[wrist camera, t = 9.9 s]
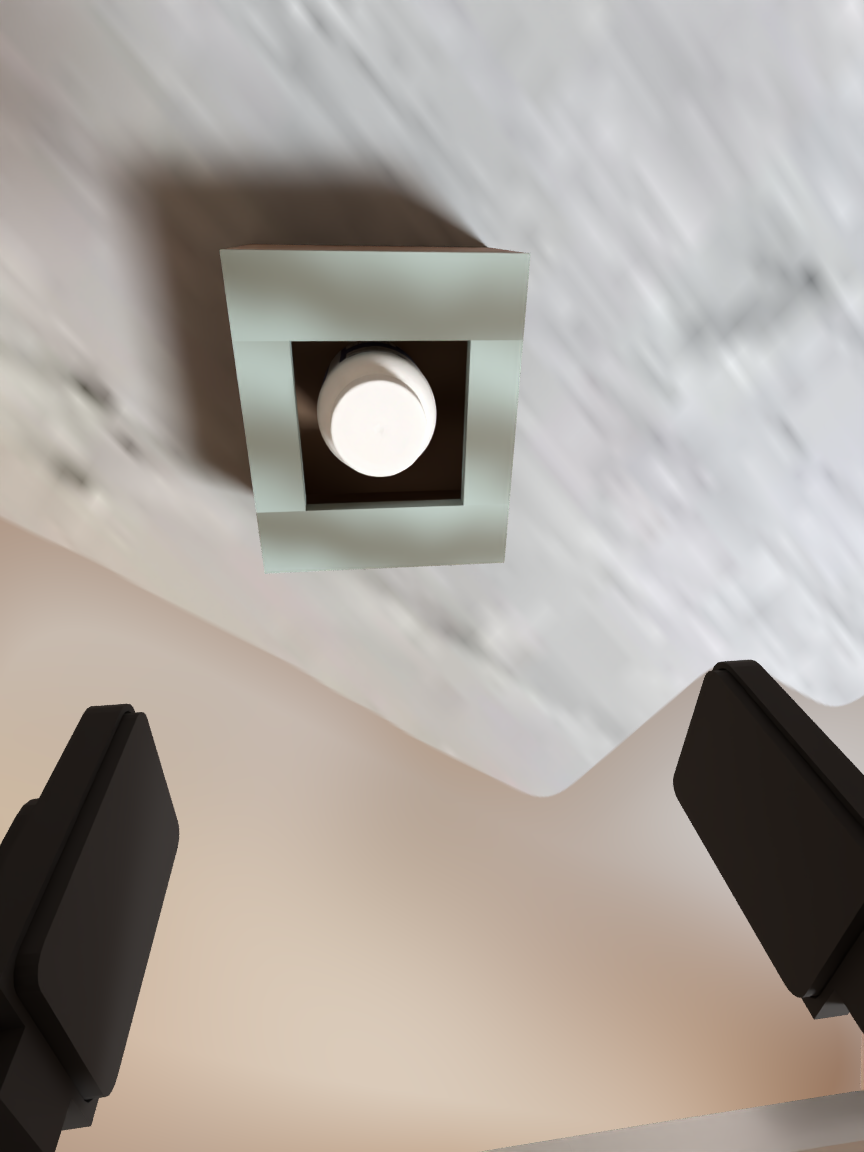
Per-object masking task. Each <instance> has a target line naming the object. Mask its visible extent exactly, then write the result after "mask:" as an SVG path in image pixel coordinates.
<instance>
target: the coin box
mask: <svg viewBox="0 0 864 1152" xmlns="http://www.w3.org/2000/svg"><path fill="white" fill-rule="evenodd" d="M219 251H220V258H221V265H222V272H223V279H224V287H225V294H226V301H227V308H228V315H229V322H230V329H231V336H232V344H233V351H234V358H235V365H236V372H237V379H238V386H239V393H240V401H241V408H242V415H243V422H244V429H245V436H246V443H247V450H248V458H249V465H250V472H251V479H252V486H253V493H254V500H255V507H256V515H257V522H258V529H259V536H260V543H261V550H262V557H263V564H264V572H265V574H267V573H289V572H311V571H332V570H354V569H376V568H397V567H419V566H441V565H462V564H484V563H504V560H505V548H506V536H507V524H508V512H509V501H510V489H511V477H512V465H513V453H514V442H515V430H516V418H517V406H518V395H519V383H520V371H521V359H522V347H523V336H524V324H525V312H526V300H527V288H528V277H529V265H530V254H529V253H522V252H515V251H509V250H502V249H495V248H488V247H419V246H347V245H276V244H248V245H242V246H237V247H231V248H226V249H220V250H219ZM356 341H388V342H391V343H393V344H395V345H397V346H398V347H400V348H401V349H402V350H404V351H405V352H406V353H407V354H408V355H409V356H410V357H411V358H412V360H413V361H414V362H415V364H416V365H417V367H418V368H419V370H420V371H421V372H422V374H423V375H424V377H425V378H426V379H427V381H428V383H429V385H430V387H431V389H432V392H433V395H434V399H435V404H436V425H435V429H434V433H433V435H432V438H431V440H430V442H429V444H428V446H427V447H426V449H425V450H424V451H423V453H422V454H421V455H420V456H419V457H418V458H417V459H416V461H415V462H414V463H413V464H412V465H411V466H409V467H408V468H406V469H405V470H403V471H401V472H399V473H397V474H395V475H391V476H385V477H375V476H368V475H365V474H362V473H359V472H357V471H356V470H354V469H352V468H351V467H349V466H348V465H346V464H345V463H343V462H342V461H341V460H339V459H338V458H337V457H336V456H335V455H334V454H333V453H332V452H331V450H330V449H329V448H328V446H327V445H326V443H325V441H324V439H323V437H322V435H321V432H320V429H319V425H318V419H317V402H318V397H319V393H320V390H321V387H322V383H323V379H324V376H325V373H326V371H327V368H328V366H329V365H330V363H331V361H332V360H333V358H334V357H335V356H336V355H337V354H338V353H339V352H340V350H342V349H343V348H344V347H346V346H347V345H349V344H351V343H353V342H356Z"/></svg>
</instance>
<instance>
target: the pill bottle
mask: <svg viewBox="0 0 864 1152" xmlns="http://www.w3.org/2000/svg"><path fill="white" fill-rule="evenodd" d="M317 419H318V425H319V429H320V432H321V435H322V437H323V439H324V441H325V443H326V445H327V446H328V448H329V449H330V450H331V452H332V453H333V454H334V455H335V456H336V457H337V458H338V459H339V460H341V461H342V462H343V463H345V464H346V465H348V466H349V467H351V468H352V469H354V470H356V471H357V472H359V473H362V474H365V475H368V476H375V477H385V476H391V475H395V474H397V473H399V472H401V471H403V470H405V469H406V468H408V467H409V466H411V465H412V464H413V463H414V462H415V461H416V459H417V458H418V457H419V456H420V455H421V454H422V453H423V451H424V450H425V449H426V447H427V446H428V444H429V442H430V440H431V438H432V435H433V433H434V429H435V425H436V404H435V399H434V395H433V392H432V389H431V387H430V385H429V383H428V381H427V379H426V378H425V377H424V375H423V374H422V372H421V371H420V370H419V368H418V367H417V365H416V364H415V362H414V361H413V360H412V358H411V357H410V356H409V355H408V354H407V353H406V352H405V351H404V350H402V349H401V348H400V347H398V346H397V345H395V344H393V343H391V342H388V341H356V342H353V343H351V344H349V345H347V346H346V347H344V348H343V349H342V350H340V352H339V353H338V354H337V355H336V356H335V357H334V358H333V360H332V361H331V363H330V365H329V366H328V368H327V371H326V373H325V376H324V379H323V383H322V387H321V390H320V393H319V397H318V402H317Z"/></svg>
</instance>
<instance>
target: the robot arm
mask: <svg viewBox="0 0 864 1152" xmlns="http://www.w3.org/2000/svg"><path fill="white" fill-rule="evenodd" d="M673 785H674V791H675V794H676V797H677V799H678V801H679V802H680V804H681V806H682V808H683V809H684V811H685V813H686V814H687V816H688V818H689V820H690V821H691V823H692V825H693V827H694V828H695V830H696V832H697V833H698V835H699V837H700V839H701V840H702V842H703V844H704V845H705V847H706V849H707V851H708V852H709V854H710V856H711V858H712V859H713V861H714V863H715V864H716V866H717V868H718V870H719V871H720V873H721V875H722V877H723V878H724V880H725V882H726V884H727V885H728V887H729V889H730V890H731V892H732V894H733V896H734V897H735V899H736V901H737V902H738V904H739V906H740V908H741V909H742V911H743V913H744V915H745V916H746V918H747V920H748V922H749V923H750V925H751V927H752V929H753V930H754V932H755V933H756V936H757V937H758V939H759V941H760V942H761V944H762V946H763V948H764V949H765V951H766V953H767V955H768V956H769V958H770V960H771V961H772V963H773V965H774V967H775V968H776V970H777V972H778V974H779V975H780V977H781V979H782V981H783V982H784V983H785V985H786V987H787V988H788V990H789V991H790V992H791V993H792V994H793V995H795V996H796V997H799V998H802V1000H803V1002H804V1003H805V1005H806V1007H807V1008H808V1010H809V1012H810V1013H811V1015H812V1017H813V1018H814V1019H821V1018H828V1017H835V1016H842V1015H848V1013H849V1012H850V1013H851V1015H852V1017H853V1018H854V1020H855V1021H856V1023H857V1024H858V1026H859V1027H860V1029H861V1031H862V1044H861V1046H862V1047H861V1081H860V1084H861V1085H860V1091H855V1092H849V1093H842V1094H836V1095H829V1096H823V1097H817V1098H810V1099H805V1100H797V1101H791V1102H785V1103H778V1104H772V1105H766V1106H760V1107H753V1108H747V1109H741V1110H735V1111H728V1112H722V1113H715V1114H709V1115H703V1116H697V1117H690V1118H685V1119H677V1120H672V1121H665V1122H659V1123H653V1124H647V1125H641V1126H635V1127H628V1128H622V1129H616V1130H610V1131H604V1132H598V1133H592V1134H585V1135H579V1136H573V1137H567V1138H561V1139H555V1140H549V1141H543V1142H536V1143H530V1144H524V1145H519V1146H512V1147H506V1148H501V1149H494V1150H488V1151H482V1152H864V775H863V774H862V773H861V772H860V771H859V770H858V768H857V767H855V765H854V764H853V763H852V762H851V761H850V760H849V759H848V758H847V757H846V756H845V755H844V754H843V753H842V751H841V750H840V749H839V748H838V747H837V746H836V745H835V744H834V743H833V742H832V741H831V740H830V739H829V738H828V736H827V735H826V734H825V733H824V732H823V731H822V730H821V729H820V728H819V727H818V726H817V725H816V724H815V723H814V722H813V721H812V720H811V718H810V717H809V716H808V715H807V714H806V713H805V712H804V711H803V710H802V709H801V708H800V707H799V706H798V705H797V703H796V702H795V701H794V700H793V699H792V698H791V697H790V696H789V695H788V694H787V693H786V692H785V691H784V690H783V689H782V687H780V685H779V684H778V683H777V682H776V681H775V680H774V679H773V678H772V677H771V676H770V675H769V674H768V673H767V671H766V670H765V669H764V668H763V667H762V666H761V665H760V664H759V663H757V662H756V661H753V660H739V661H725V662H718V663H717V664H716V665H715V666H714V668H713V670H712V671H709V672H708V673H707V674H706V675H705V678H704V680H703V684H702V687H701V690H700V694H699V697H698V700H697V703H696V706H695V710H694V713H693V716H692V719H691V722H690V726H689V729H688V732H687V735H686V738H685V742H684V745H683V748H682V751H681V754H680V757H679V761H678V764H677V767H676V771H675V773H674V778H673ZM178 842H179V825H178V820H177V817H176V814H175V811H174V807H173V804H172V800H171V797H170V793H169V790H168V787H167V783H166V780H165V777H164V773H163V770H162V767H161V763H160V760H159V756H158V753H157V750H156V746H155V743H154V740H153V736H152V733H151V730H150V726H149V723H148V719H147V717H146V715H145V714H144V713H143V712H137V713H135V711H134V709H133V707H132V706H131V705H130V704H118V705H104V706H91V707H89V708H87V709H86V711H85V712H84V714H83V715H82V717H81V719H80V721H79V723H78V725H77V727H76V729H75V731H74V733H73V735H72V736H71V739H70V740H69V742H68V744H67V746H66V748H65V750H64V752H63V754H62V756H61V757H60V759H59V761H58V763H57V765H56V767H55V769H54V771H53V773H52V775H51V776H50V778H49V780H48V782H47V784H46V786H45V788H44V790H43V792H42V794H41V796H40V798H38V799H32V800H30V801H29V802H27V803H26V804H25V805H23V807H22V808H21V810H20V811H19V813H18V814H17V816H16V817H15V819H14V821H13V823H12V824H11V826H10V828H9V830H8V832H7V834H6V835H5V837H4V839H3V841H2V843H1V845H0V1152H55V1150H56V1147H57V1143H58V1140H59V1137H60V1134H61V1130H68V1129H75V1128H81V1127H89V1126H91V1124H92V1121H93V1117H94V1114H95V1110H96V1106H97V1103H98V1099H99V1098H101V1097H106V1096H108V1095H109V1094H110V1093H111V1092H112V1089H113V1087H114V1085H115V1082H116V1079H117V1076H118V1072H119V1069H120V1065H121V1061H122V1057H123V1053H124V1050H125V1046H126V1042H127V1038H128V1034H129V1030H130V1026H131V1023H132V1019H133V1015H134V1011H135V1008H136V1004H137V1000H138V996H139V992H140V988H141V985H142V981H143V977H144V973H145V969H146V966H147V962H148V958H149V954H150V951H151V947H152V943H153V939H154V935H155V932H156V927H157V924H158V920H159V916H160V912H161V908H162V905H163V901H164V897H165V893H166V890H167V886H168V882H169V878H170V874H171V871H172V867H173V863H174V859H175V855H176V852H177V848H178Z"/></svg>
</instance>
